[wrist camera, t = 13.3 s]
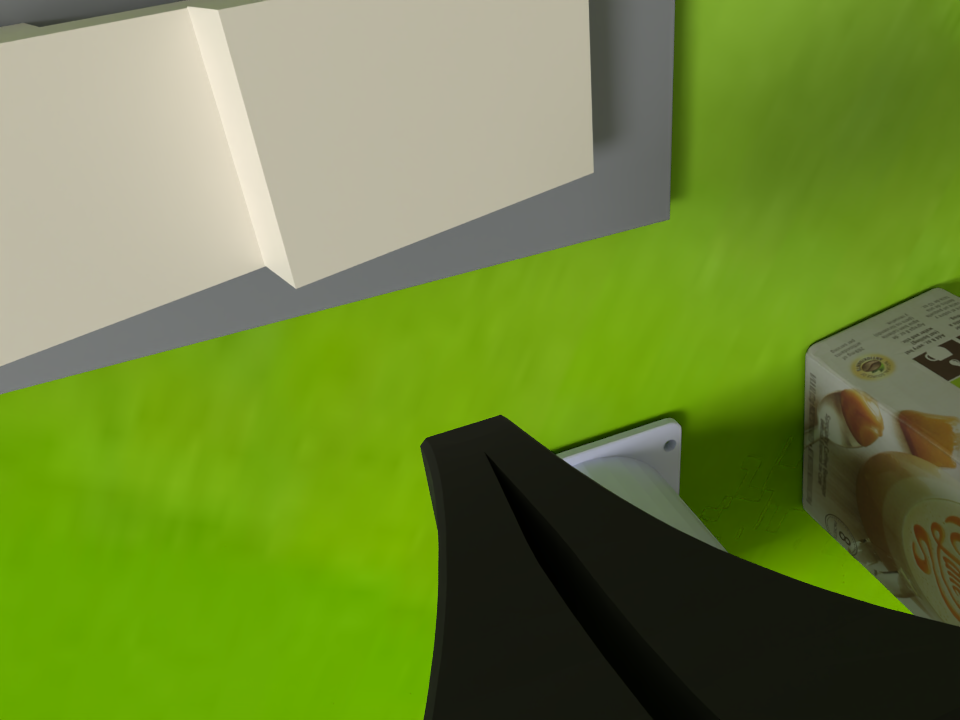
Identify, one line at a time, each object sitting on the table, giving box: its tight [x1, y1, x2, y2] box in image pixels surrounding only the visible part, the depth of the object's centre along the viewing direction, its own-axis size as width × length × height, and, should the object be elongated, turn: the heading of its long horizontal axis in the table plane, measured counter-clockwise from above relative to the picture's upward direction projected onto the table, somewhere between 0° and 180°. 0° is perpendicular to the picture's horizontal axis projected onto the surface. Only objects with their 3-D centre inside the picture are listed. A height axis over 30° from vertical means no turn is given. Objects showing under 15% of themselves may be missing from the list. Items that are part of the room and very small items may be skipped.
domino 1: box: [0, 0, 265, 366], centre depth 14 cm, size 5×2×8 cm
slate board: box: [0, 0, 675, 394], centre depth 16 cm, size 10×26×1 cm, turn 96°
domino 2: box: [187, 0, 594, 289], centre depth 15 cm, size 5×2×8 cm
